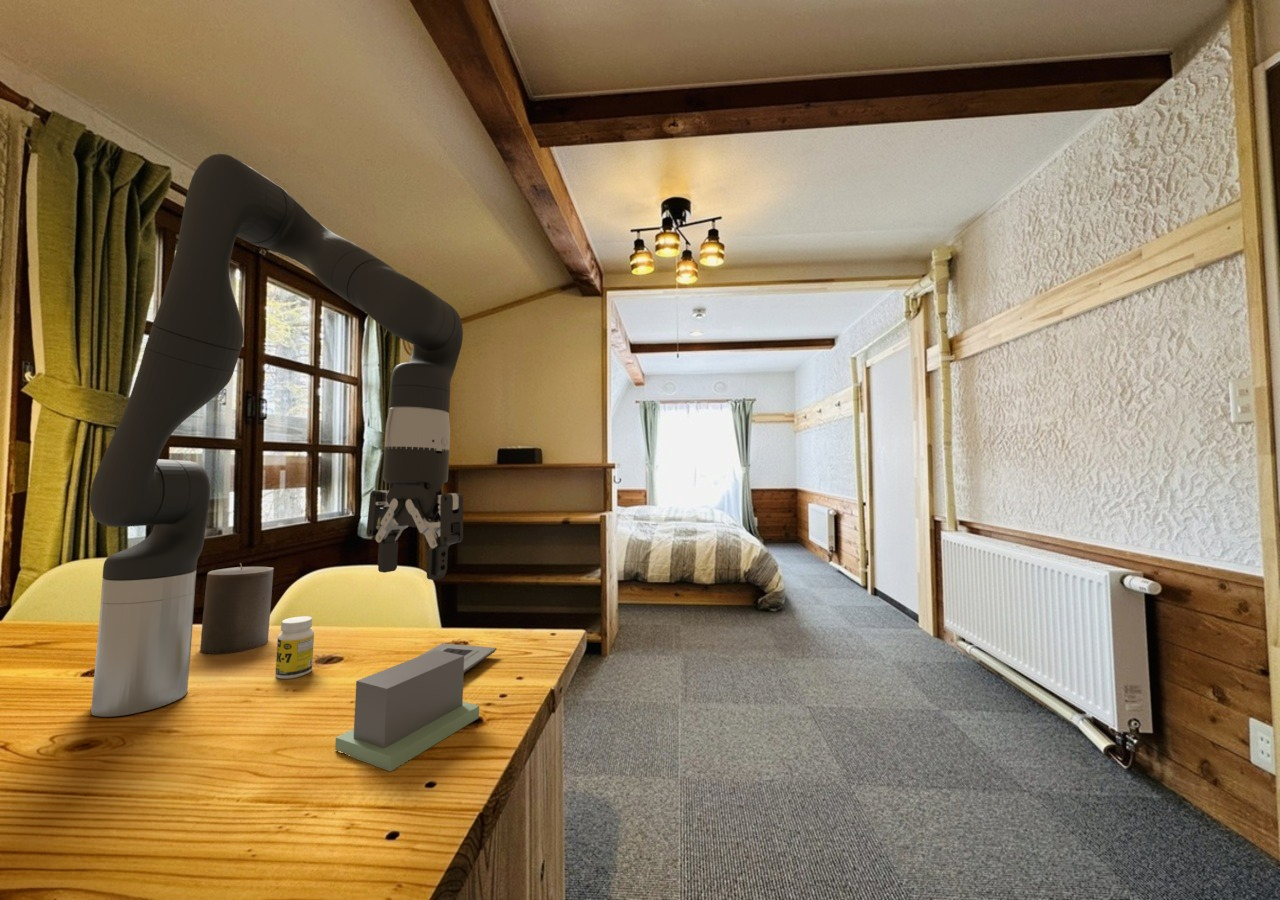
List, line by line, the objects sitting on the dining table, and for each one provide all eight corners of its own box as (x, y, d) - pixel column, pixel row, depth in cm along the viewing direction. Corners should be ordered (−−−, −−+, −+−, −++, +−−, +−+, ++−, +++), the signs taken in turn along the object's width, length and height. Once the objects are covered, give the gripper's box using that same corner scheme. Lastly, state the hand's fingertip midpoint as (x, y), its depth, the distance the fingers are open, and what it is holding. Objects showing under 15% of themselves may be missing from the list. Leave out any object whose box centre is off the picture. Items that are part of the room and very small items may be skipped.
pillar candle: (211, 658, 83) (218, 569, 84) (192, 647, 88) (199, 563, 89) (277, 643, 91) (283, 562, 92) (256, 634, 96) (262, 557, 97)
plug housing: (353, 738, 55) (356, 680, 55) (434, 697, 65) (436, 649, 65) (384, 748, 53) (386, 688, 53) (462, 705, 63) (464, 655, 63)
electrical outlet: (453, 691, 72) (453, 674, 72) (390, 685, 74) (391, 668, 74) (496, 660, 84) (496, 646, 85) (441, 655, 86) (442, 641, 87)
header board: (335, 751, 55) (337, 701, 55) (428, 704, 66) (429, 662, 67) (390, 771, 51) (392, 717, 51) (478, 717, 63) (480, 674, 63)
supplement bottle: (268, 676, 75) (271, 621, 76) (299, 666, 80) (302, 614, 80) (288, 681, 73) (291, 625, 74) (319, 670, 78) (321, 617, 78)
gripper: (353, 444, 61) (344, 574, 60) (435, 443, 55) (427, 587, 54) (403, 448, 68) (397, 565, 67) (482, 448, 62) (476, 576, 61)
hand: (411, 575), depth 61 cm, fingers open, 8 cm apart
